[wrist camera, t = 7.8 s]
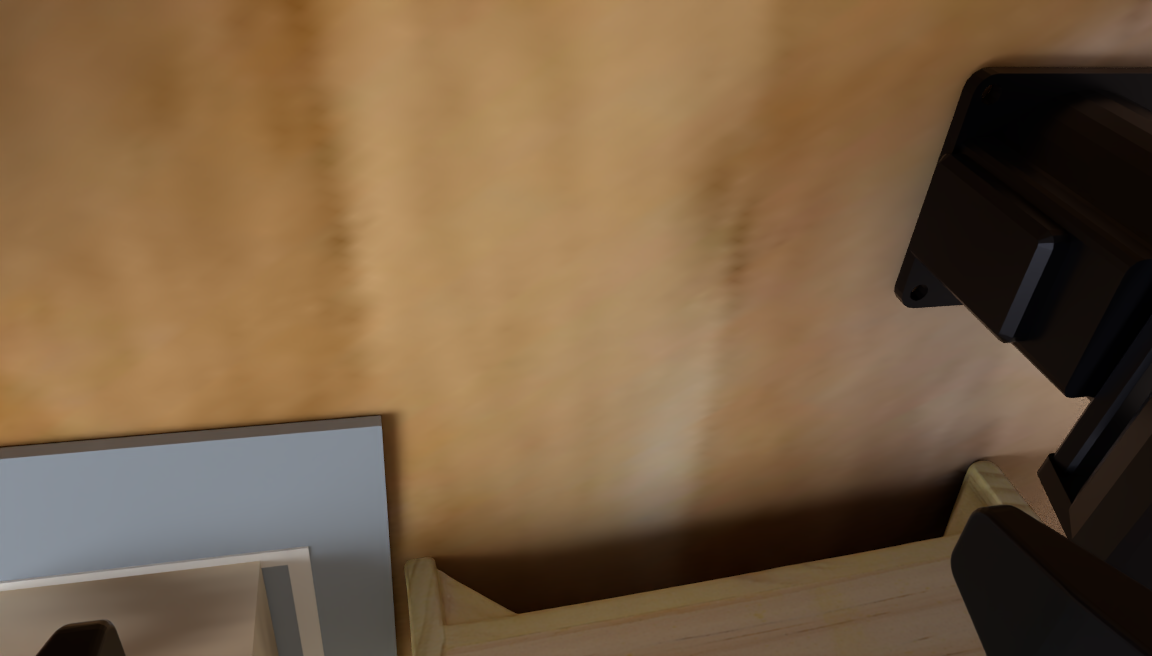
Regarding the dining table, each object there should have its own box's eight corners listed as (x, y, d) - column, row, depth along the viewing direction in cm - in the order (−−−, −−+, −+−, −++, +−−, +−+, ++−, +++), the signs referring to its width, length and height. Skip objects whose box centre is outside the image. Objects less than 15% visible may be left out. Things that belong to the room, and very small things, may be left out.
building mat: (380, 415, 23) (381, 427, 22) (400, 715, 31) (401, 728, 30) (-261, 470, 20) (-272, 485, 19) (-50, 788, 28) (-56, 803, 27)
